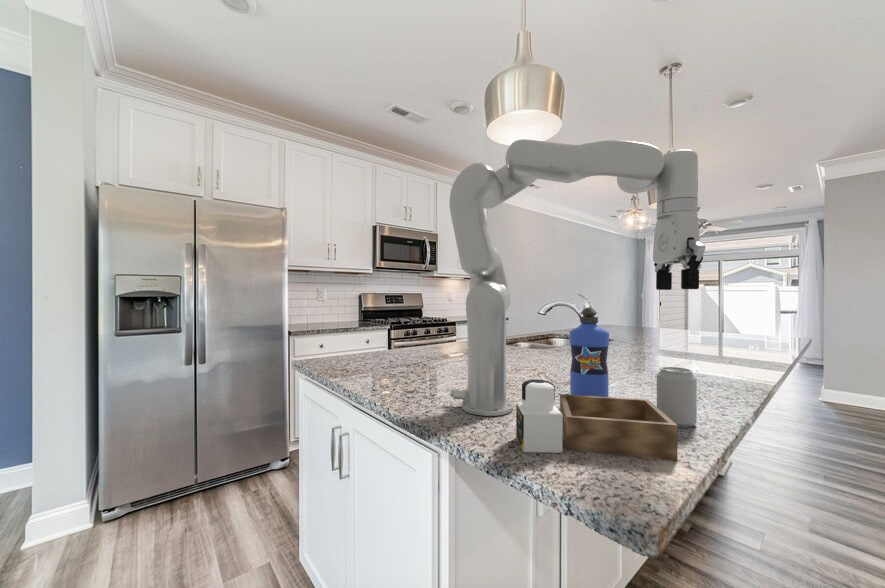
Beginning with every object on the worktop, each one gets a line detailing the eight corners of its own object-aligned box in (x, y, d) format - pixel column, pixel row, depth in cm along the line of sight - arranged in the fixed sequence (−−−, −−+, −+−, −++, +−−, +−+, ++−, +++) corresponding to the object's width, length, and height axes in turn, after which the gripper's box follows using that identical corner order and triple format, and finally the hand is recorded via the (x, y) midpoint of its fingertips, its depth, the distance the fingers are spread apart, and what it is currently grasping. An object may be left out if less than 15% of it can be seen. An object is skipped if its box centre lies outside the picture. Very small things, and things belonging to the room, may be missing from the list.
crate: (566, 449, 67) (566, 416, 67) (559, 420, 83) (559, 394, 83) (677, 460, 63) (677, 425, 63) (648, 427, 78) (648, 399, 78)
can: (703, 429, 77) (703, 372, 77) (664, 427, 79) (664, 371, 79) (687, 418, 85) (687, 366, 85) (651, 416, 86) (651, 364, 86)
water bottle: (570, 399, 99) (570, 307, 99) (608, 403, 96) (608, 307, 96) (568, 409, 91) (568, 308, 91) (610, 414, 87) (610, 308, 87)
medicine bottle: (515, 437, 73) (516, 377, 73) (552, 438, 73) (552, 377, 73) (522, 453, 66) (522, 385, 66) (563, 453, 65) (563, 386, 66)
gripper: (639, 218, 89) (639, 289, 88) (682, 200, 71) (681, 288, 71) (672, 218, 88) (671, 290, 88) (722, 200, 71) (722, 289, 71)
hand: (676, 289), depth 80 cm, fingers open, 9 cm apart
